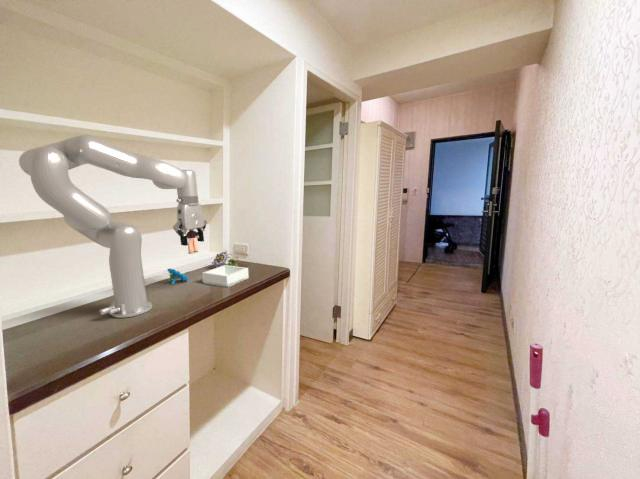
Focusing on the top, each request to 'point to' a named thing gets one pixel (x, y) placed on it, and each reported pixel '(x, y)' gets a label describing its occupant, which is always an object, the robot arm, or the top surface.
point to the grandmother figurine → (192, 241)
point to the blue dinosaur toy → (176, 276)
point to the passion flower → (224, 259)
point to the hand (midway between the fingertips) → (192, 243)
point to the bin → (225, 275)
